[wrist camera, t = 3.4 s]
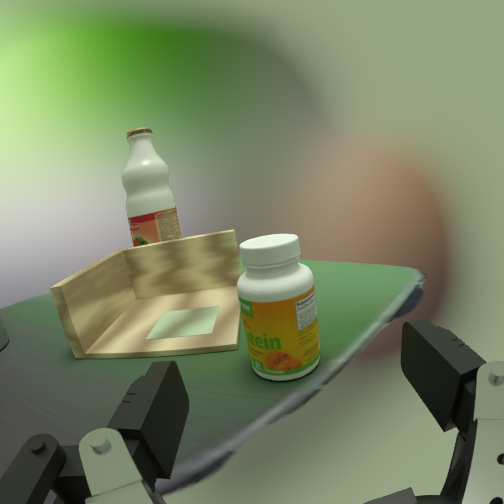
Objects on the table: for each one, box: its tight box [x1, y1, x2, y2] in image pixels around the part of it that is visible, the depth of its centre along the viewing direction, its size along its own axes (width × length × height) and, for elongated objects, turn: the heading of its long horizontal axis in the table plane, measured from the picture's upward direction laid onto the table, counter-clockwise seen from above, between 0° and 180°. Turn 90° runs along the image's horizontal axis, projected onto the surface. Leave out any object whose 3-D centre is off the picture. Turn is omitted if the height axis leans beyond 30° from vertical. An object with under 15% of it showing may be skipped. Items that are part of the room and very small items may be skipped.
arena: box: [50, 230, 242, 358], centre depth 33 cm, size 18×18×8 cm
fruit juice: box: [122, 128, 182, 247], centre depth 53 cm, size 9×9×28 cm
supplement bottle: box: [237, 234, 320, 381], centre depth 21 cm, size 5×5×10 cm
